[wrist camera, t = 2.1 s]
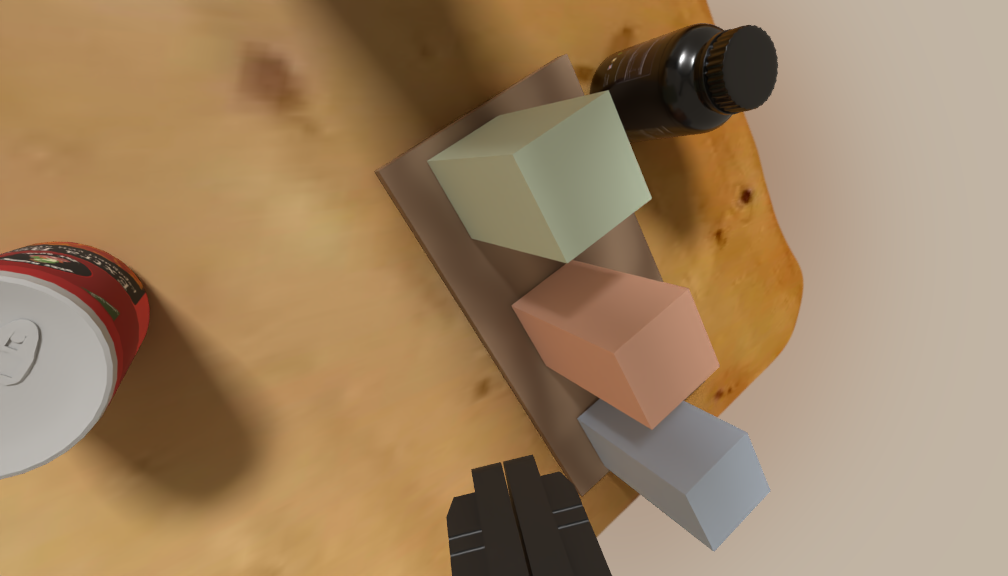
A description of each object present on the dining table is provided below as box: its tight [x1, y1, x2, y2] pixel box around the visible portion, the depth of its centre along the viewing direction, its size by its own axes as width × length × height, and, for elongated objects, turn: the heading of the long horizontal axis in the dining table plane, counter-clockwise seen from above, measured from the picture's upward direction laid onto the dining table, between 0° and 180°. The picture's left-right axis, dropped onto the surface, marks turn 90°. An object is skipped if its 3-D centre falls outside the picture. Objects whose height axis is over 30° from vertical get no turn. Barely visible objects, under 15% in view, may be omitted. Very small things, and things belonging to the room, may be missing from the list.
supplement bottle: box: [590, 23, 778, 142], centre depth 37 cm, size 7×7×12 cm
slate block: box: [577, 399, 770, 551], centre depth 41 cm, size 6×6×12 cm
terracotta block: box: [511, 260, 720, 430], centre depth 36 cm, size 6×6×12 cm
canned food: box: [0, 242, 150, 479], centre depth 24 cm, size 8×8×11 cm
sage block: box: [427, 90, 652, 263], centre depth 31 cm, size 6×6×12 cm
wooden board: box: [374, 54, 705, 496], centre depth 42 cm, size 16×32×1 cm, turn 31°
